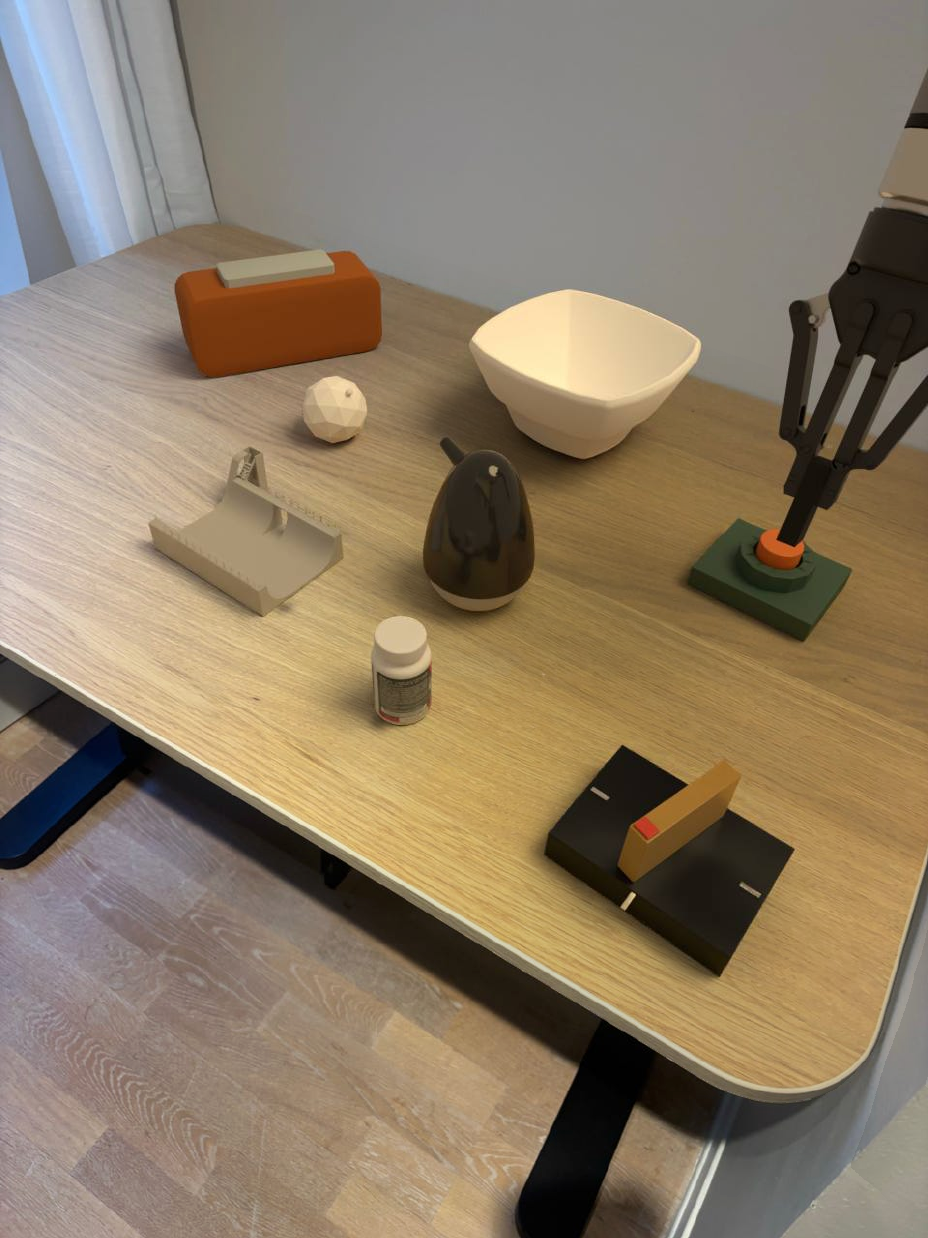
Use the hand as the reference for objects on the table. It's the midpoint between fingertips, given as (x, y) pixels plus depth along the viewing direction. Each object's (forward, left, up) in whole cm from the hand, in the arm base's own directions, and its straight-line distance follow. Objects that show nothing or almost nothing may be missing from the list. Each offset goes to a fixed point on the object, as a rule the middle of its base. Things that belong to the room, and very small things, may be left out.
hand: (789, 539), depth 68 cm
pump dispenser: (+24, +9, -14) cm, 29 cm away
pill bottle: (+20, +24, -14) cm, 34 cm away
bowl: (+32, -20, -14) cm, 40 cm away
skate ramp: (+44, +18, -14) cm, 49 cm away
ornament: (+52, -1, -14) cm, 53 cm away
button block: (+3, -10, -14) cm, 17 cm away
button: (+3, -10, -10) cm, 15 cm away
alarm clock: (+71, -11, -14) cm, 73 cm away
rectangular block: (-4, +23, -10) cm, 25 cm away
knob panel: (-4, +23, -14) cm, 27 cm away
